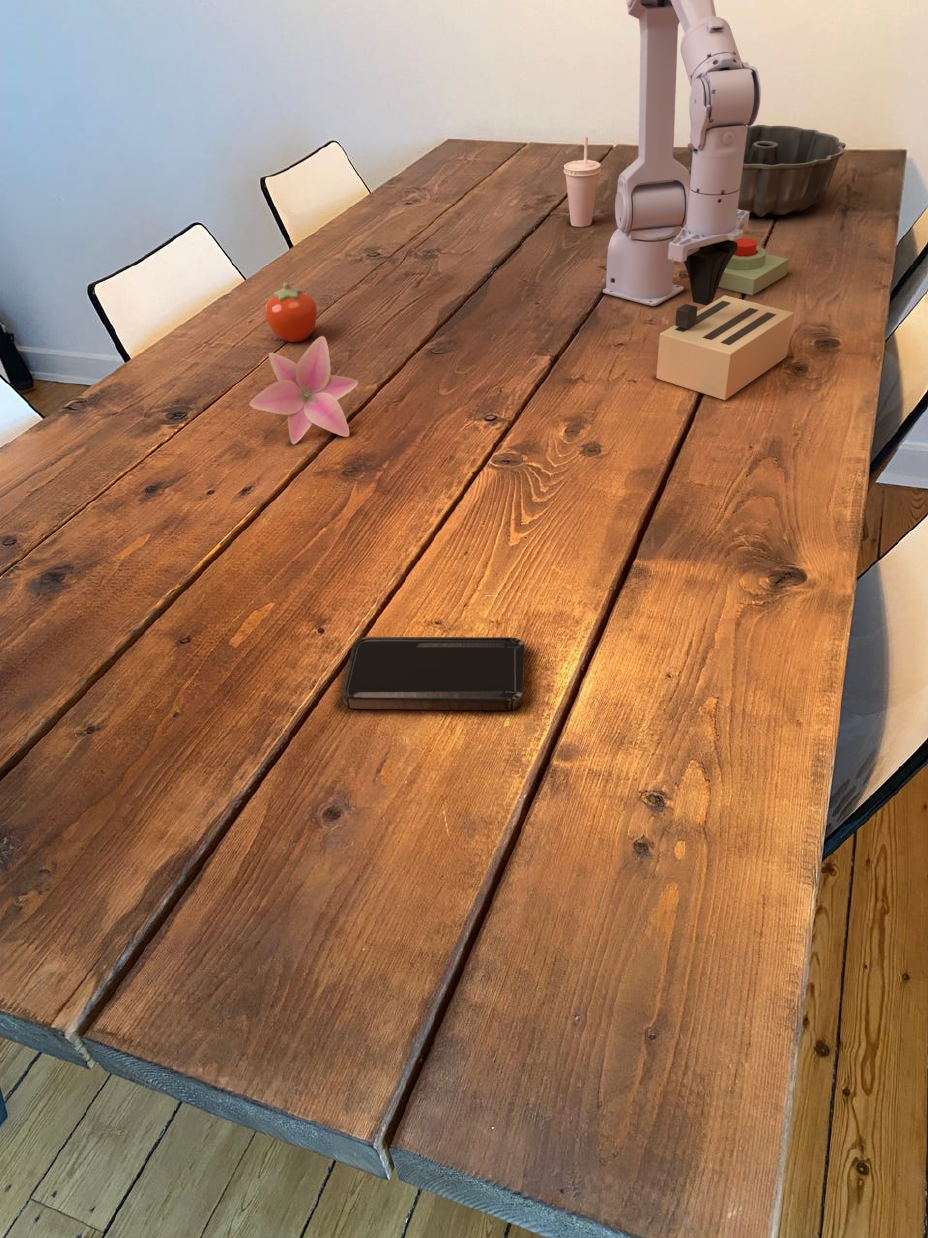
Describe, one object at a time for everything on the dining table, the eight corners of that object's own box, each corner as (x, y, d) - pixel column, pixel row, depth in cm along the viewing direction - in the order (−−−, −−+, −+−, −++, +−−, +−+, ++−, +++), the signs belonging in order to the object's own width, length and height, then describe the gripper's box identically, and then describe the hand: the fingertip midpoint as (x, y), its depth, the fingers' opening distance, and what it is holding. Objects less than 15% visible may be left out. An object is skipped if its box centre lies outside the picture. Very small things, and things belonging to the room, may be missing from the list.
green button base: (693, 281, 145) (696, 254, 142) (728, 261, 150) (731, 235, 147) (752, 295, 139) (756, 268, 137) (786, 274, 145) (790, 247, 142)
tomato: (330, 329, 139) (322, 275, 133) (303, 350, 134) (293, 295, 128) (288, 323, 141) (278, 270, 136) (260, 344, 136) (248, 289, 131)
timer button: (726, 255, 142) (727, 243, 141) (738, 248, 144) (740, 236, 143) (747, 259, 140) (749, 248, 139) (760, 252, 142) (761, 240, 141)
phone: (522, 701, 76) (339, 698, 78) (522, 710, 77) (341, 708, 78) (524, 636, 82) (355, 635, 84) (524, 646, 83) (356, 645, 84)
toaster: (655, 378, 121) (659, 332, 117) (719, 338, 129) (724, 294, 125) (724, 400, 115) (730, 353, 111) (786, 356, 123) (794, 311, 119)
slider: (674, 325, 118) (676, 308, 116) (683, 320, 119) (685, 303, 117) (687, 329, 117) (688, 311, 115) (696, 323, 118) (697, 306, 116)
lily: (245, 446, 116) (243, 399, 107) (272, 371, 121) (272, 321, 112) (340, 472, 117) (346, 428, 108) (364, 397, 122) (371, 349, 113)
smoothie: (597, 229, 165) (600, 142, 156) (560, 228, 166) (561, 142, 157) (600, 217, 170) (603, 132, 161) (565, 217, 171) (566, 132, 162)
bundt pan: (852, 189, 173) (864, 130, 167) (808, 234, 157) (819, 170, 150) (714, 175, 185) (720, 119, 179) (660, 215, 169) (664, 155, 162)
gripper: (710, 210, 104) (698, 329, 113) (777, 176, 111) (761, 290, 120) (656, 199, 108) (648, 315, 116) (725, 168, 115) (712, 278, 124)
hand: (702, 302), depth 119 cm, fingers closed
